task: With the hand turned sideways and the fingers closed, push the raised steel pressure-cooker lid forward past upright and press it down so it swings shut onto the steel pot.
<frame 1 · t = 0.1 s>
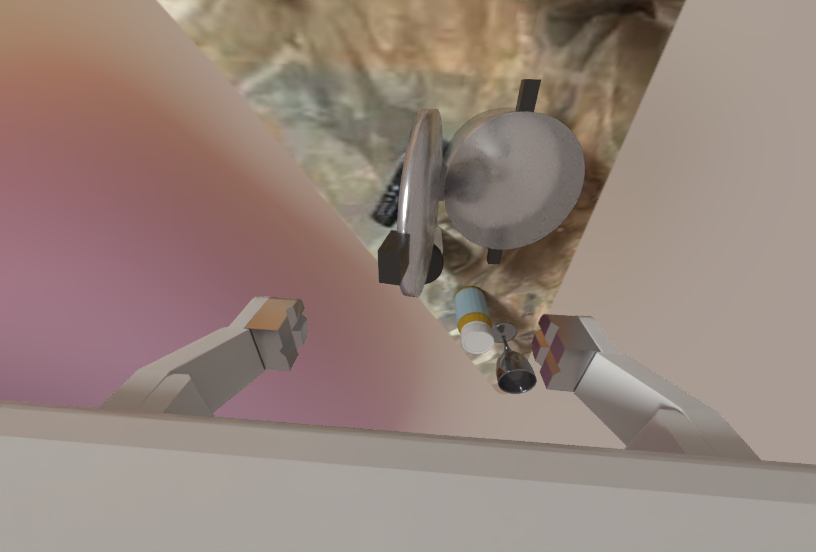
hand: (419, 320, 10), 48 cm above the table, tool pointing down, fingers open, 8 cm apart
jar: (421, 236, 61), on the table
cooker lid: (417, 214, 33), point 24 cm above the table, hinge at 99.0°
bottle: (468, 296, 68), on the table
cooker pot: (496, 170, 52), on the table
wine glass: (501, 332, 74), on the table
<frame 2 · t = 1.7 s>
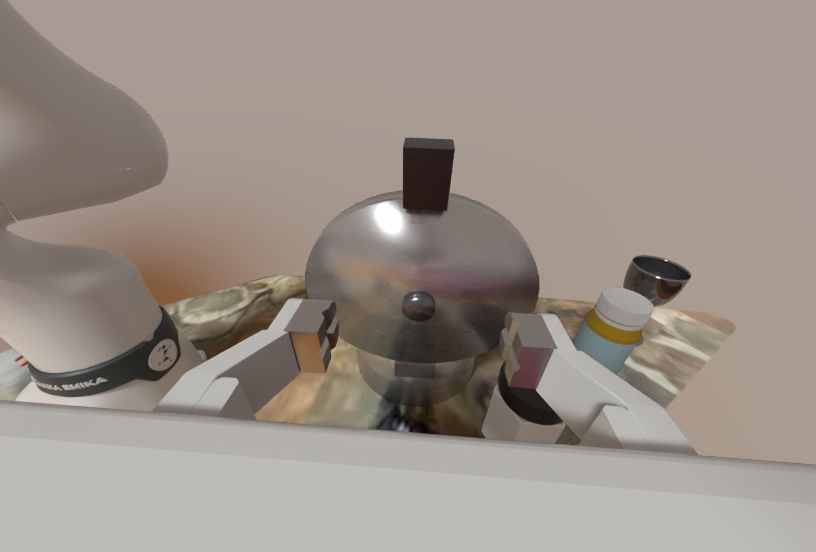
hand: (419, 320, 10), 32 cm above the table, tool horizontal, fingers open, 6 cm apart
jar: (514, 435, 39), on the table
cooker lid: (419, 287, 26), point 24 cm above the table, hinge at 99.0°
bottle: (586, 370, 48), on the table
cooker pot: (415, 353, 50), on the table
wine glass: (621, 332, 56), on the table
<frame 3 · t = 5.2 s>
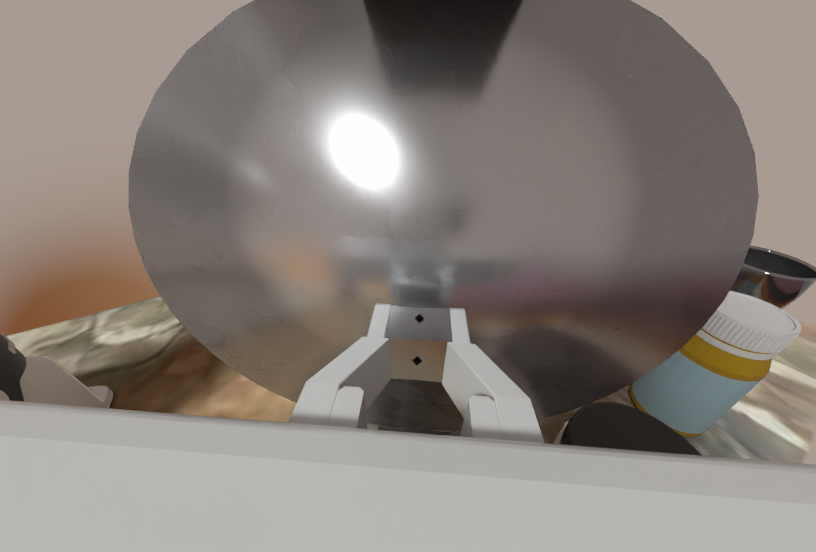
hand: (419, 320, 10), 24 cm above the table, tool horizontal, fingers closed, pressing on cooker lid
jar: (575, 531, 24), on the table
cooker lid: (422, 299, 11), point 24 cm above the table, hinge at 98.9°, touching gripper
bottle: (662, 410, 33), on the table
cooker pot: (415, 385, 35), on the table
wine glass: (693, 350, 41), on the table
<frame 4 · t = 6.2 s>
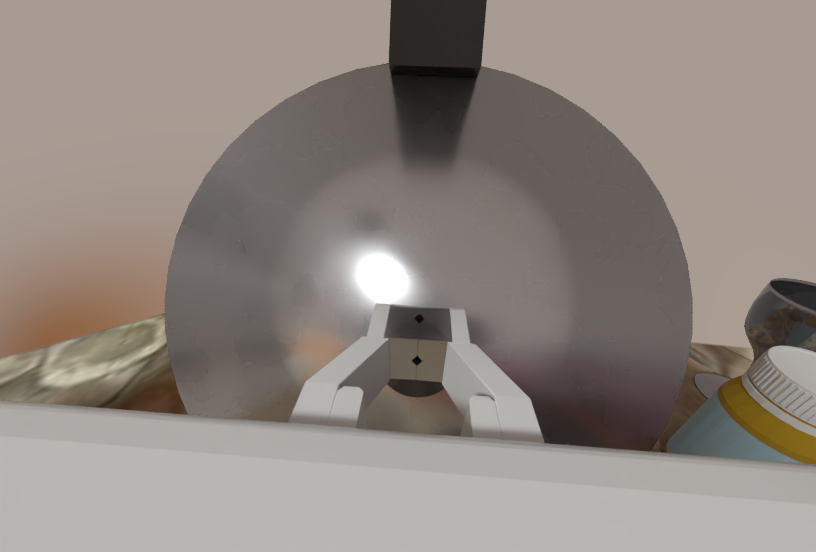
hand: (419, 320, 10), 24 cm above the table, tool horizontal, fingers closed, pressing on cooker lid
cooker lid: (420, 305, 11), point 24 cm above the table, hinge at 66.5°, touching gripper
bottle: (703, 478, 28), on the table
wine glass: (729, 395, 36), on the table
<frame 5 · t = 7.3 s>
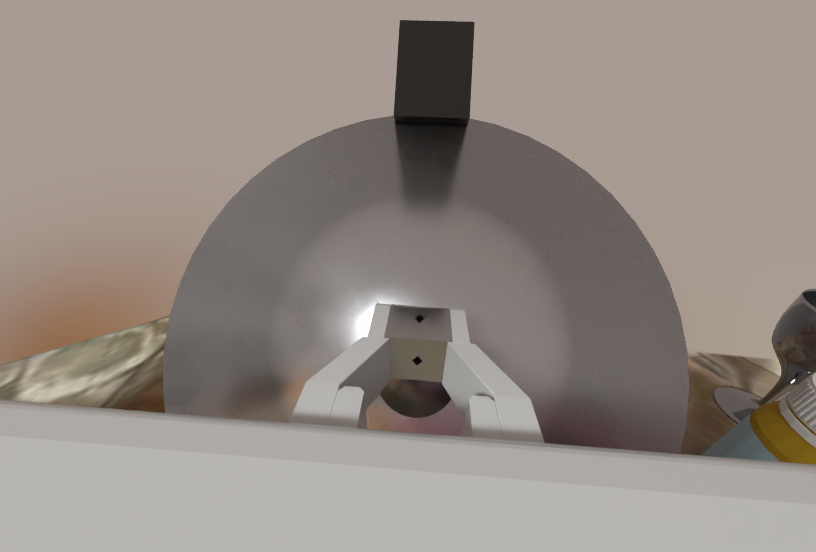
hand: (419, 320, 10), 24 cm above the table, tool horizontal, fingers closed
cooker lid: (419, 323, 12), point 23 cm above the table, hinge at 53.9°
bottle: (729, 508, 26), on the table
wine glass: (752, 413, 34), on the table
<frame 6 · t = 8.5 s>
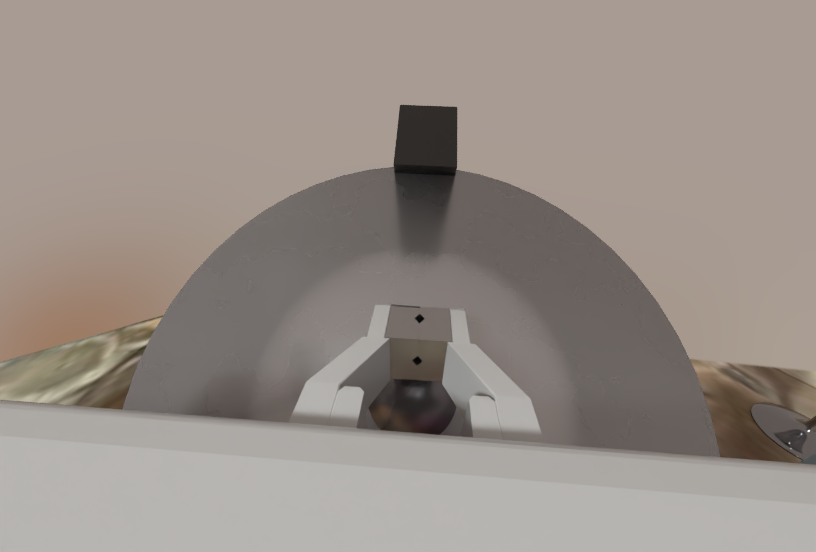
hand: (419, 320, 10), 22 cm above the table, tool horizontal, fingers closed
cooker lid: (414, 344, 11), point 20 cm above the table, hinge at 35.0°, touching gripper
wine glass: (797, 435, 29), on the table
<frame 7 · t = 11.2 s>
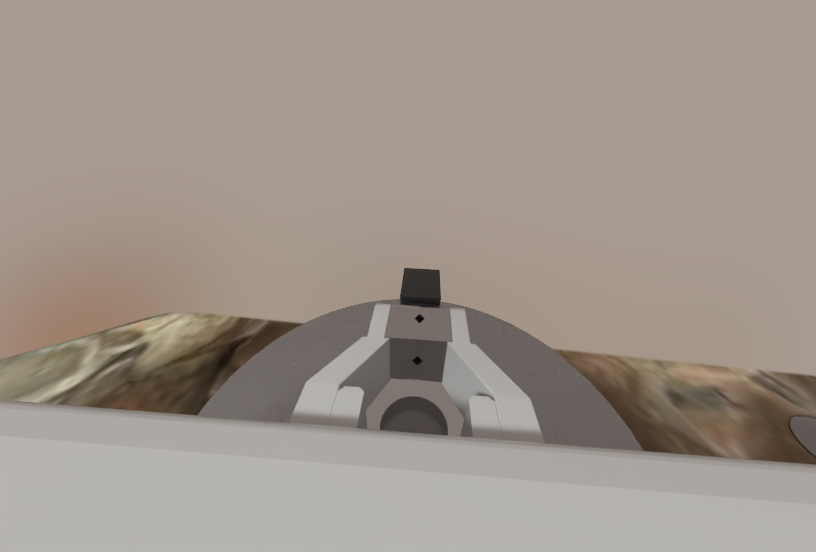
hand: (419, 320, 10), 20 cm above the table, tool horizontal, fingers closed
cooker lid: (414, 406, 15), point 13 cm above the table, hinge at -0.2°
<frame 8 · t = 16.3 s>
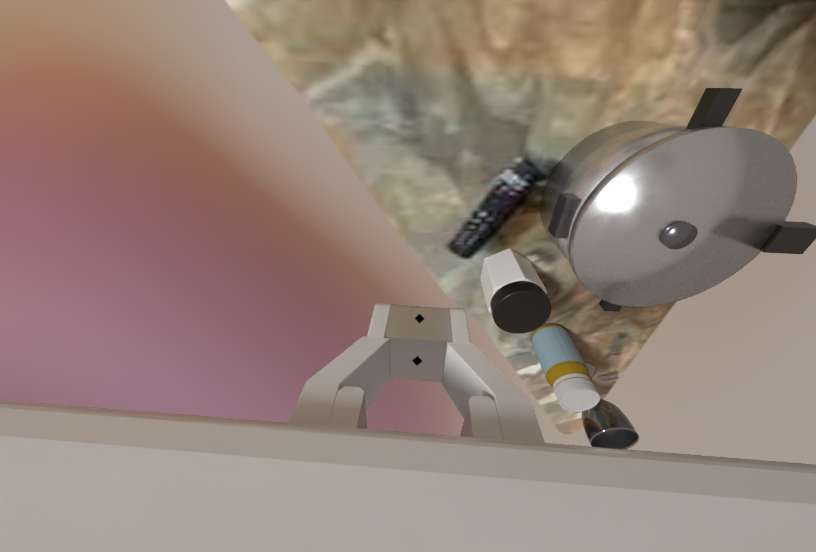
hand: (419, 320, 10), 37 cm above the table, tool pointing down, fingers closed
jar: (503, 269, 51), on the table
cooker lid: (689, 233, 32), point 13 cm above the table, hinge at -0.2°
bottle: (547, 334, 59), on the table
cooker pot: (610, 195, 43), on the table
wine glass: (578, 372, 65), on the table
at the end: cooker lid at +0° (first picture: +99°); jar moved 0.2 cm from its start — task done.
